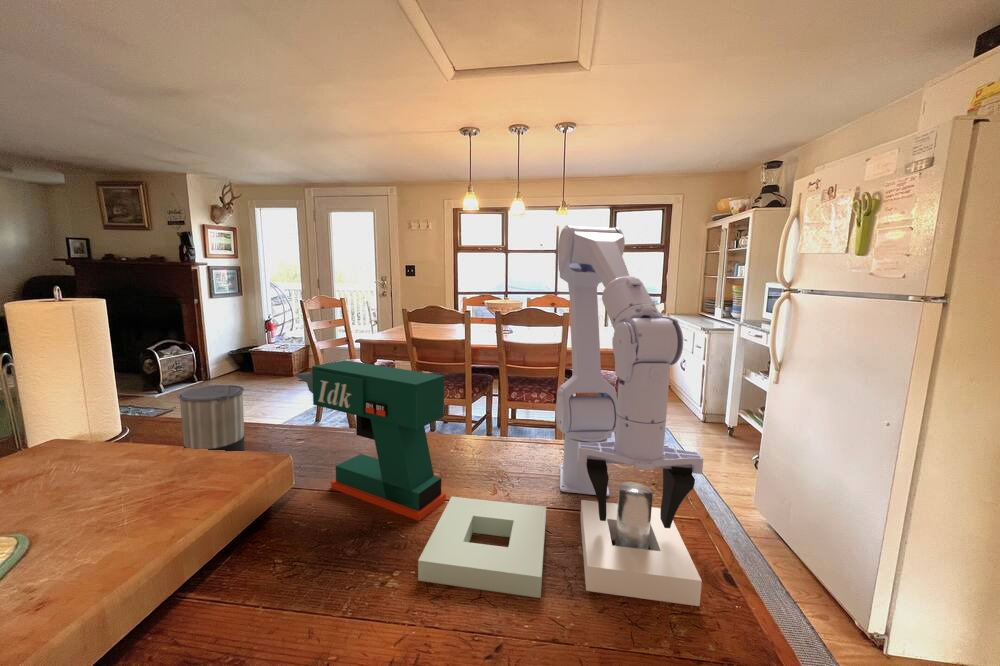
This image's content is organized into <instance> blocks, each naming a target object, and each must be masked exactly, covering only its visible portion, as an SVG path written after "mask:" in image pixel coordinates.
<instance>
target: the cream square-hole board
mask: <svg viewBox="0 0 1000 666" xmlns="http://www.w3.org/2000/svg"><path fill="white" fill-rule="evenodd" d="M617 508H618V503H615V502H607V501H606V521H600V518H599V508H598V500H587V499H586V500H585V499H581V501H580V518H579V519H580V529H581V530H580V531H581V543H582V545H581V546H582V554H583V555H582V556H583V567H584V570H583V571H584V582H585V591H586V592H591V593H592V592H593V593H598V594H599V593H600V594H607V595H608V594H609V595H614V596H621V597H622V596H623V597H630V598H637V599H644V600H650V601H656V602H657V601H658V602H663V603H671V604H672V603H673V604H681V605H687V606H694V607H695V606H696V607H700V605H701V596H702V595H701V594H702V584H703V581H702V578H701V576H700V574H699V572H698V569H697V568H696V566H695V563H694V562H693V560H692V557H691V554H690V553H689V551H688V549H687V546H686V545H685V543H684V540H683V538H682V536H681V534H680V532H679V530H678V528H677V525H676V523H675V522H674V520H673V521H672V524H671V527H670V528H664V525H663V523H662V521H661V507H653V506H652V510H651V523H650V536H649V548H650V549H648V550H645V549H637V548H629V547H620V546H615V545H613V543H612V541H613V542H615V538H616V523H617Z"/></svg>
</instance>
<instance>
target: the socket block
mask: <svg viewBox="0 0 1000 666" xmlns="http://www.w3.org/2000/svg"><path fill="white" fill-rule="evenodd" d="M546 520H547V506H543V505H533V504H525V503H524V504H523V503H516V502H506V501H497V500H495V501H494V500H488V499H487V500H486V499H478V498H468V497H459V496H450V498H449V501H448V502H447V505H446V506H445V508H444V510H443V512H442V514H441V516H440V518H439V520H438V522H437V524H436V526H435V528H434V529H433V531H432V533H431V535H430V537H429V539H428V541H427V543H426V545H425V546H424V548H423V551H422V552H421V554H420V556H419V558H418V560H417V581H418V582H419V581H420V582H427V583H432V584H440V585H448V586H453V587H461V588H468V589H474V590H481V591H489V592H496V593H503V594H509V595H515V596H523V597H530V598H539V599H541V598H542V585H543V583H542V582H543V570H544V569H543V568H544V567H543V566H544V552H545V538H546ZM473 534H479V535H480V534H481V535H489V536H497V537H504V538H505V537H506V538H509V542H508V546H499V545H493V544H492V545H491V544H484V543H476V542H470V541H471V539H472V535H473Z"/></svg>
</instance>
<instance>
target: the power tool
mask: <svg viewBox="0 0 1000 666" xmlns="http://www.w3.org/2000/svg"><path fill="white" fill-rule="evenodd" d="M311 368H312V369H311V371H309V372H302V373H301V372H299V373H294V374H293V376H294V377H297V378H298V379H300V380H301V381H303V382H305V383H306V385H307V388H308V391H309V392H310V393H311V394H312V400H313V401H312V403H313V404H312V405H313V406H316V407H321V408H325V409H329V410H333V411H338V412H341V413H345V414H346V413H347V414H350V415H355V416H356V417H355V418H356V419H355V421H356V424H355V427H356V428H355V429H356V436H359V437H362V438H366V439H368V440H369V439H370V440H373V441H374V443H375V448H376V454H377V458H376V457H373V456H370V455H366V454H363V453H360V454H357V455H355V456H353V457H352V458H349V459H347V460H345V461H342V462H341V463H338V464H336V465H335V479H334V480H332V481H331V482H330V489H332V490H335V491H338V492H341V493H343V494H346V495H348V496H351V497H354V498H356V499H359V500H362V501H363V502H364V501H365V502H367V503H369V504H372V503H373V504H372V505H375V504H376V506H378V505H379V506H378V507H380V506H381V507H380V508H383V507H384V508H383V509H386V510H388V509H389V510H388V511H391V512H394V513H396V514H399V515H402V516H404V517H407V518H410V519H413V520H415V521H418V522H420V521H422V520H423V519H424V518H425V517H426V516H428V515H429V514H430V513H432V512H433V511H434V510H436V509H437V508H438V507H439V506H440V505H442V504H443V503H444V502H445V501H447V494H446V493H444V492H442V477H438V476H435V474H434V470H433V464H432V463H433V462H432V458H431V454H430V448H429V443H428V438H427V434H426V427H425V426H427V425H430V424H432V423H433V422H436V421H438V420H440V419H442V418H444V417H445V375H443V374H437V373H430V372H422V371H416V370H410V369H405V368H404V369H403V368H398V367H391V366H384V365H380V364H379V365H378V364H372V363H366V362H359V361H352V360H347V359H344V360H343V359H342V360H338V361H337V360H336V361H332V362H327V363H323V364H322V363H321V364H317V365H312V366H311ZM436 507H437V508H436ZM431 511H432V512H431ZM427 514H428V515H427ZM421 519H422V520H421Z"/></svg>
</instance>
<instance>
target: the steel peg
mask: <svg viewBox="0 0 1000 666" xmlns="http://www.w3.org/2000/svg"><path fill="white" fill-rule="evenodd" d="M653 497H654V496H653V490H652V489H651V488H650V487H648V486H647V485H645V484H643V483H640V482H639V483H638V482H635V481H625V482H622V483H620V484H619V485H618V495H617V504H618V508H617V523H616V538H615V541H614V546H620V547H629V548H637V549H645V550H649V548H650V546H649V536H650V523H651V510H652V507H653Z"/></svg>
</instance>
